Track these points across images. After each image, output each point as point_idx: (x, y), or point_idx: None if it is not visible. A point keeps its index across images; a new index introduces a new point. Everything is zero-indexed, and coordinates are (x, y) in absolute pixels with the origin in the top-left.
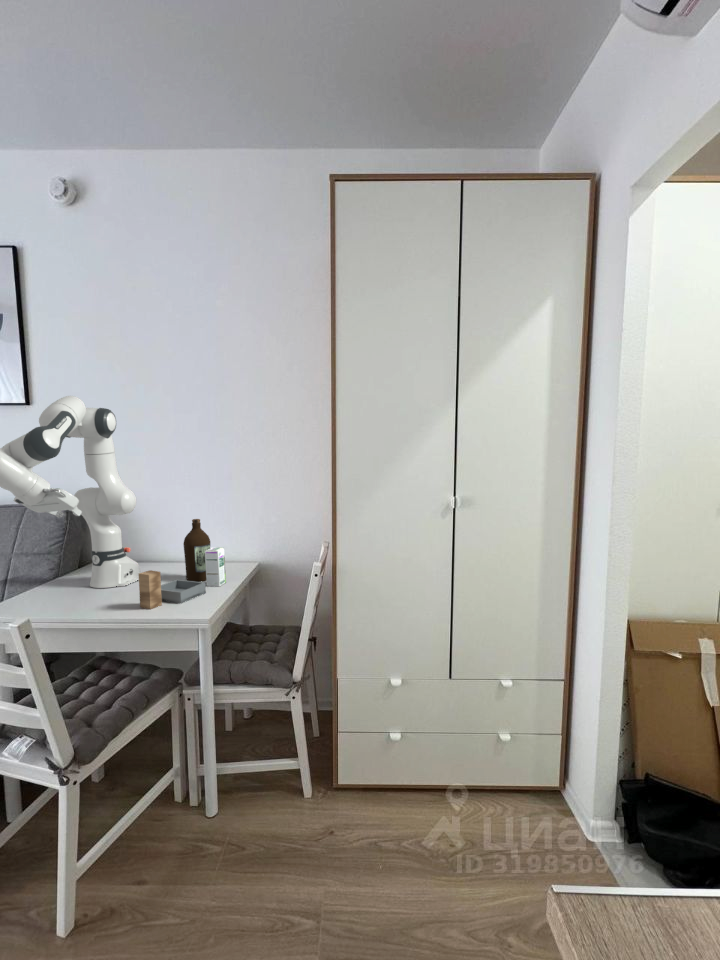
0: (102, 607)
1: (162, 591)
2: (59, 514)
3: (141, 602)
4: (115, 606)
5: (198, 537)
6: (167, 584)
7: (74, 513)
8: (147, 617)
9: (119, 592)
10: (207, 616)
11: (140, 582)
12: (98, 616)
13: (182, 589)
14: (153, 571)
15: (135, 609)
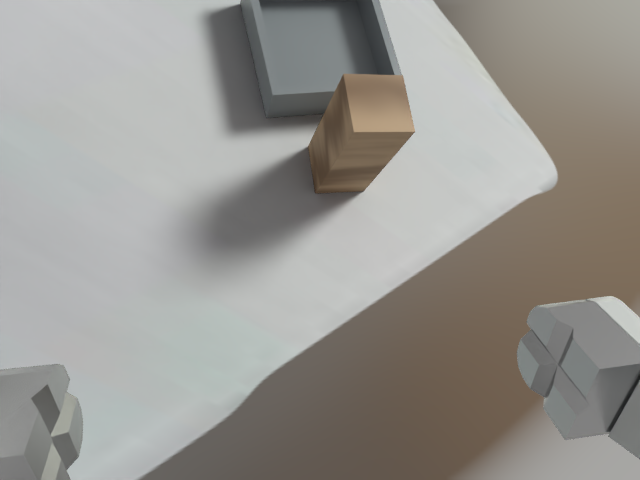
0: (190, 260)
1: (326, 94)
2: (63, 470)
3: (327, 185)
4: (224, 228)
5: None
6: (263, 26)
7: (622, 432)
8: (429, 248)
9: (57, 104)
10: (547, 159)
11: (350, 150)
12: (282, 332)
13: (284, 11)
14: (375, 83)
15: (321, 215)
